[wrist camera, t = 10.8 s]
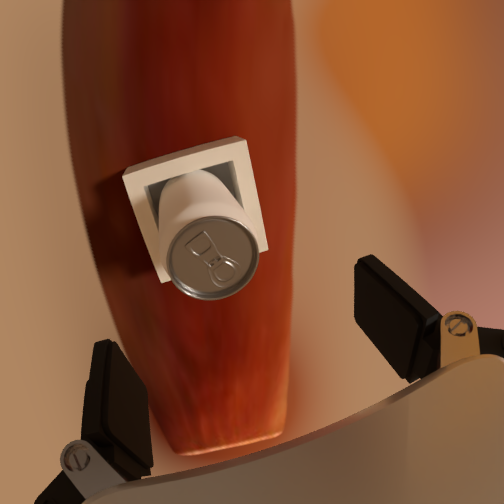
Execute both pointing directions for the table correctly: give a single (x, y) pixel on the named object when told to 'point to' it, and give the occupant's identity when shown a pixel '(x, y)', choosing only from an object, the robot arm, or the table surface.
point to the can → (205, 237)
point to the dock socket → (195, 158)
